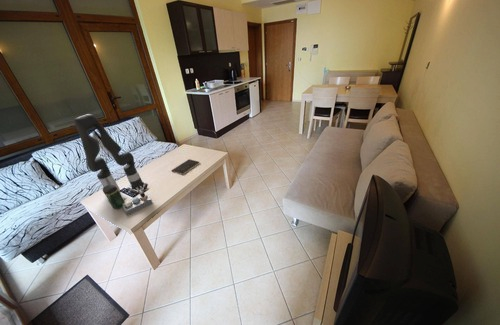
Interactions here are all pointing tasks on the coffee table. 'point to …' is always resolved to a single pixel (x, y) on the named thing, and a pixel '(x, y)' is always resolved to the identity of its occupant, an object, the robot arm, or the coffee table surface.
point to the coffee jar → (113, 196)
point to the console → (137, 205)
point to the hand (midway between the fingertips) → (143, 196)
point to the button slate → (135, 200)
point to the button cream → (128, 204)
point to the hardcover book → (185, 167)
